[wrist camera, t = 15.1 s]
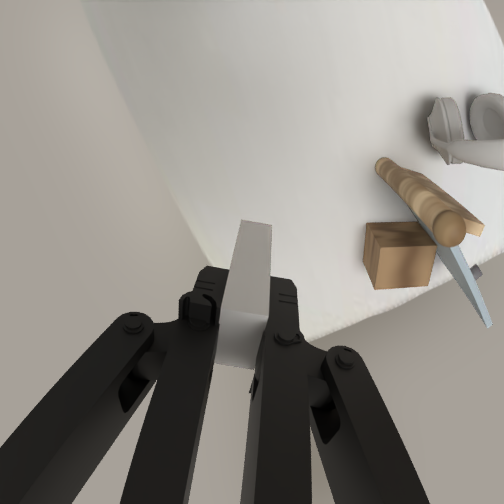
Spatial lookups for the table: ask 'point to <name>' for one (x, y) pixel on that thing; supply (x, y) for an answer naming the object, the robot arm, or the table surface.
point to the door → (461, 274)
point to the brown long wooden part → (430, 204)
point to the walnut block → (398, 255)
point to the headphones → (483, 127)
